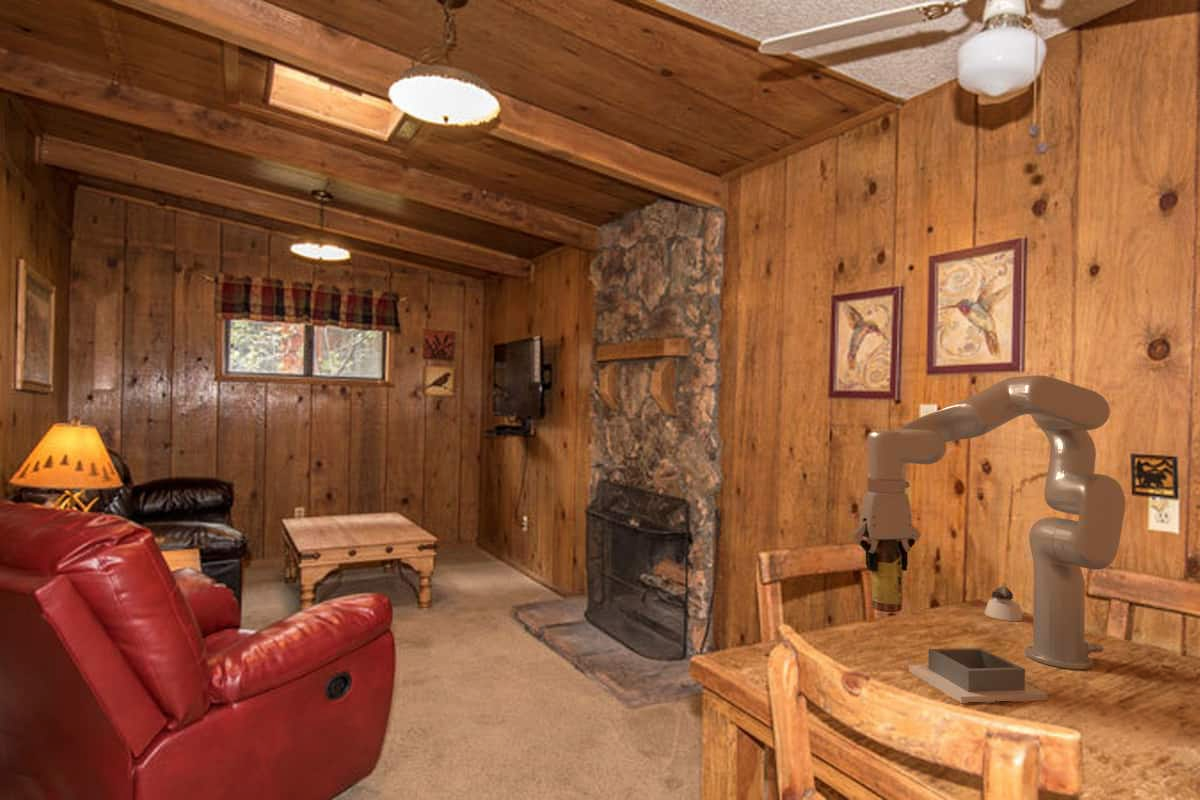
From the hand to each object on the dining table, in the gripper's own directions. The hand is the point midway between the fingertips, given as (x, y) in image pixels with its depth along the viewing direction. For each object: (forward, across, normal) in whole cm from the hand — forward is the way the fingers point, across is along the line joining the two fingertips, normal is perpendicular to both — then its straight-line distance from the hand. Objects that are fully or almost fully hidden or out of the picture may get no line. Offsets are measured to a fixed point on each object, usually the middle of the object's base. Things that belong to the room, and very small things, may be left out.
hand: (886, 569), depth 146 cm
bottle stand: (+20, -11, +13) cm, 27 cm away
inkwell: (+22, -51, -28) cm, 62 cm away
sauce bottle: (+9, 0, 0) cm, 9 cm away
